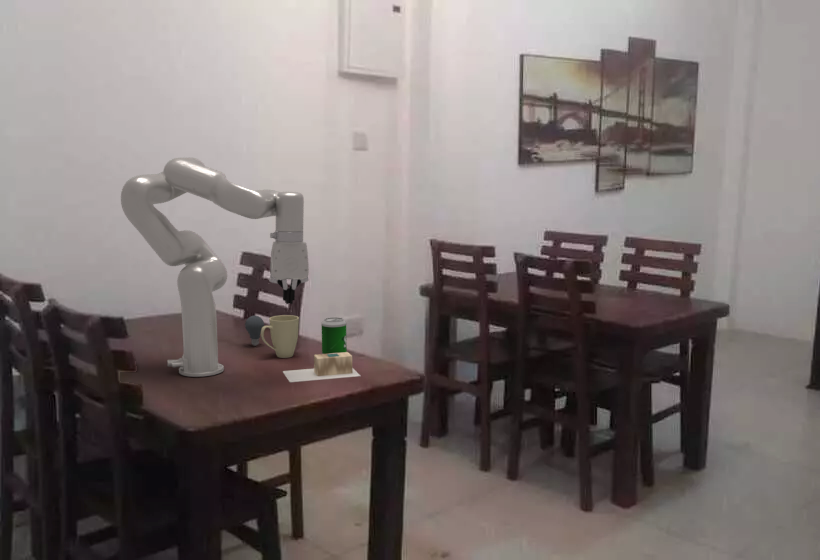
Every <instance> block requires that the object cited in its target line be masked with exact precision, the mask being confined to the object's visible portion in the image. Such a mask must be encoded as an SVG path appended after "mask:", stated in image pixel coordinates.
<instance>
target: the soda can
mask: <svg viewBox="0 0 820 560" xmlns="http://www.w3.org/2000/svg"><path fill="white" fill-rule="evenodd" d="M347 343H348V342H347V322H346V320H345V319H344V318H343V317H339V316H335V317H334V316H333V317H326V318H324V320H323V321H322V322H321V354H330V353H342V352H348V351H347V346H348V345H347Z"/></svg>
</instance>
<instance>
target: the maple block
mask: <svg viewBox="0 0 820 560" xmlns="http://www.w3.org/2000/svg"><path fill="white" fill-rule="evenodd" d="M352 368H353V355H352V354H351V353H349V352H348V351H347V352H342V353H330V354H322V353H320V354H317V353H316V354H314V355H313V369H314V372H315V373H316V375H317V376H326V375H338V374H350V373H352Z"/></svg>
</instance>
